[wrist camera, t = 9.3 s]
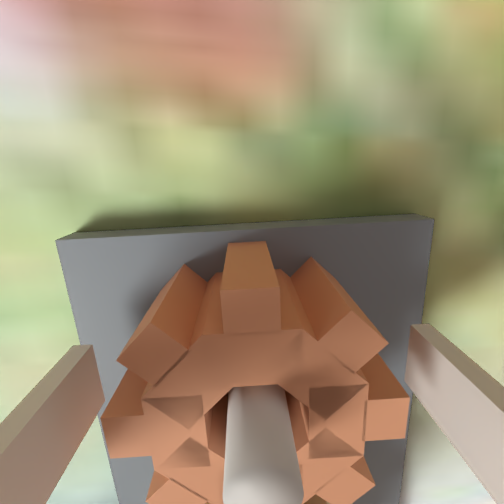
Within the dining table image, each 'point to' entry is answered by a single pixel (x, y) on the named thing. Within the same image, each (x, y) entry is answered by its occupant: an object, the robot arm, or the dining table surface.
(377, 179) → the dining table surface
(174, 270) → the gear board
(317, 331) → the gear
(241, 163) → the dining table surface
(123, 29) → the dining table surface
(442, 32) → the dining table surface
